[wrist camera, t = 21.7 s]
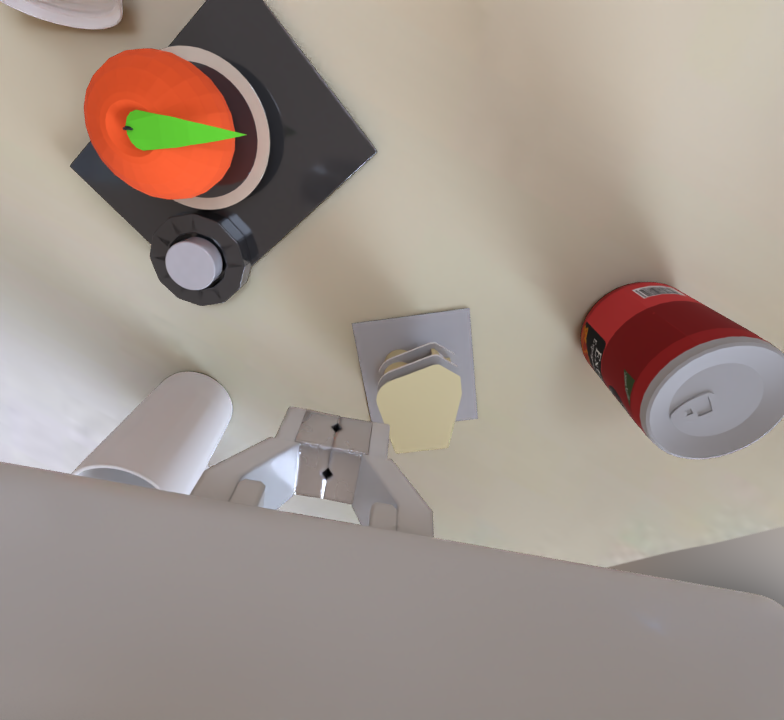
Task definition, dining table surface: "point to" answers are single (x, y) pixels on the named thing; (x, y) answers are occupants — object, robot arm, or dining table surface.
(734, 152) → the dining table surface
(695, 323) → the canned food
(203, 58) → the cooking ring
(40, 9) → the spread jar
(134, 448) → the mug
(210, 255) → the button
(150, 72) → the clementine
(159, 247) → the hob
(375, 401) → the stacked layers on plate
